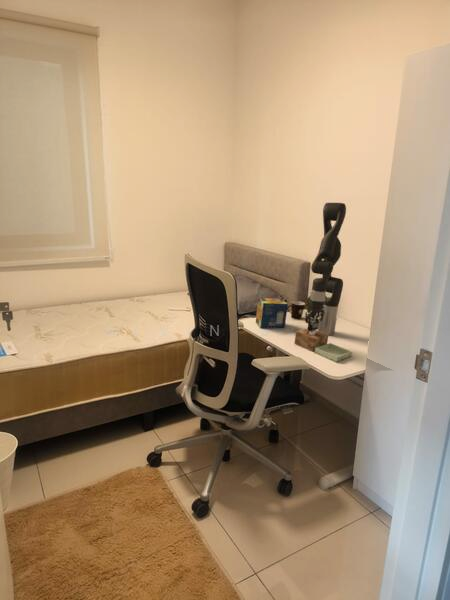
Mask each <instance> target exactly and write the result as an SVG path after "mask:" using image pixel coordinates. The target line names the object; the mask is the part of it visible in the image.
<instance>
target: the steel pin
mask: <svg viewBox="0 0 450 600" xmlns="http://www.w3.org/2000/svg"><path fill="white" fill-rule="evenodd" d="M312 325H313V326H312V331H309V334H311V335H315V333H316V330H318V325H319V323H318V322H316V321H314V322H313V324H312Z"/></svg>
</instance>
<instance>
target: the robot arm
mask: <svg viewBox="0 0 450 600" xmlns="http://www.w3.org/2000/svg"><path fill="white" fill-rule="evenodd" d="M346 213H347V206H346V203H344V202H325V203H324V205H323V208H322V221H323V222H322V223H323V237H322V239H321V241H320V245H319V249H318V253H317V255H316V256H315V258H314V260H313V262H312V264H311V267H310V269H311V271H312V273H313V274H318V275H322V277H319V278H318V277H316V278H314V279H313V281H312V286H311V291H310V295H309V296H310V298H309V302H308V303H309V304H308V307H309V308H310V309H309V311H308V312H305V313H304V314H305V324H307V328H308V331H312V326H313V325H312V324H313V322H314V321H316V322H318V323H319V325H318V329H317V331H320V332H322V333H325V334H328V336H334V333H335V330H336V325H337V320H338V317H337V314H338V309H339V304H340V300H341V296H342V292H343V287H344V281H343V279H342V278H340V277H339V278H338V277H335V276H332V272H333V270H334V267H335V265H336V264H337V262H338V261H339V260H340V258H341V254H342V253H341V252H342V243H341V241H340V239H339V237H338V236H339V234H340V231H341V230H342V229H341V228H342V226H343V224H344V222H345V221H344V220H345V217H346ZM332 222H334V225H333V226H332ZM326 293H329V294H331V296H330V297H326Z"/></svg>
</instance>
